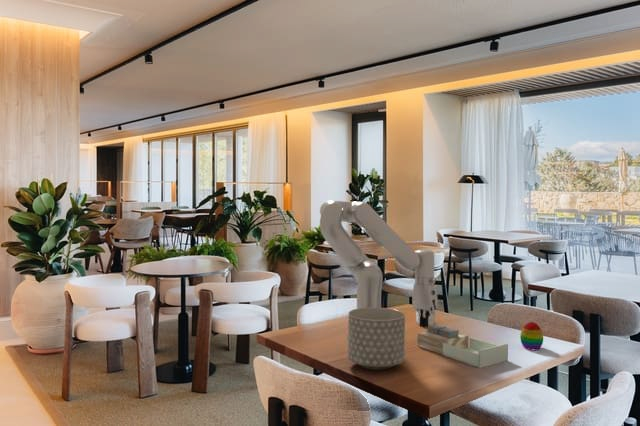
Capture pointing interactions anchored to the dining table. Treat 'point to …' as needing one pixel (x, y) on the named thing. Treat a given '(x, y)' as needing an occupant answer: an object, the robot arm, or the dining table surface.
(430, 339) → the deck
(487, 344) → the tray
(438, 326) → the tile rear
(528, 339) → the decorative egg
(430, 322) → the medicine bottle
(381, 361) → the planter
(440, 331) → the tile front
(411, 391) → the dining table surface
